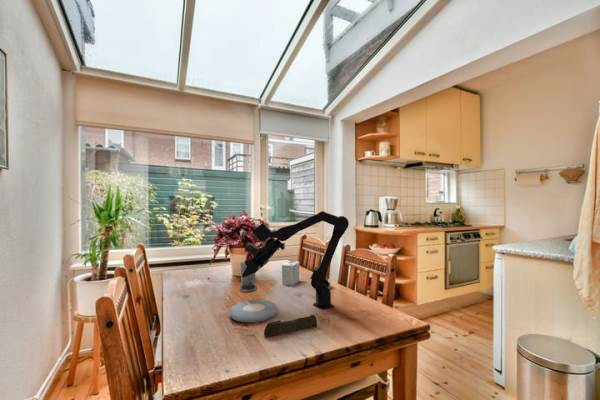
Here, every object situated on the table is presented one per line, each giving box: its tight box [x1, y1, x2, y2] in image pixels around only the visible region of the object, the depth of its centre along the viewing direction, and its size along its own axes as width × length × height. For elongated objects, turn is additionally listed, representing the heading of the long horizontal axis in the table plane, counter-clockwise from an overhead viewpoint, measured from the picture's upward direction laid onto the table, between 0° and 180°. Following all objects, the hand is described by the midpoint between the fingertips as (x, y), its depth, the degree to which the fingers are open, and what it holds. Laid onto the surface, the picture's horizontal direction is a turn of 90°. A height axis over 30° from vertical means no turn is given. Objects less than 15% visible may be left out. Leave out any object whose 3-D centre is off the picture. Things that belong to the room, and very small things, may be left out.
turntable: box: [230, 299, 278, 323], centre depth 111 cm, size 18×18×2 cm
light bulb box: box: [281, 260, 301, 287], centre depth 155 cm, size 11×7×11 cm, turn 161°
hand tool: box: [263, 314, 318, 338], centre depth 97 cm, size 19×4×5 cm, turn 114°
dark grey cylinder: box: [239, 261, 258, 294], centre depth 124 cm, size 8×8×12 cm
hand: (245, 275), depth 124 cm, fingers closed on dark grey cylinder, 6 cm apart
